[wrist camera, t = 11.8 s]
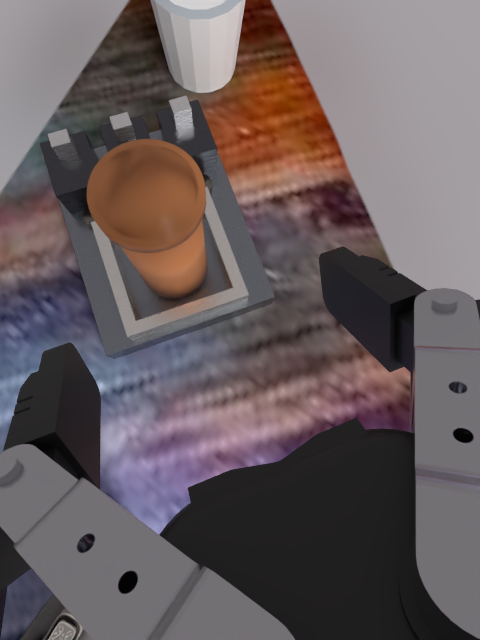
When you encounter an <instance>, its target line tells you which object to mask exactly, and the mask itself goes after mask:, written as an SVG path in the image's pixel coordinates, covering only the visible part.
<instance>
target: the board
mask: <svg viewBox="0 0 480 640" xmlns="http://www.w3.org/2000/svg"><path fill="white" fill-rule="evenodd" d="M169 104H170V108H166V109H162V110H159V111H156V112H157V117H158V121H159V126H160V130H158V131H154V132H151V133H149V132H148V130H147V127H146V124H145V121H144V119H143V116H142V115H141V116H137V117H134V118H129V115H128V112H125V113H122V114H118V115H114V116H111V117H110V120H111V123H112V124H108V125H105V126H101V127H99V128H100V131H101V134H102V137H103V140H104V143H105V146H101V147H98V148H94V149H93V147H92V145H91V143H90V141H89V139H88V137H87V135H86V133H85V131H83V132H80V133H76V134H72V135H70V134H69V133H68V131H67V129H64V130H60V131H56V132H53V133H49V134H48V137H49V140H50V141H47V142H43V143H40V145H41V148H42V152H43V155H44V158H45V162H46V165H47V168H48V171H49V175H50V178H51V181H52V184H53V188H54V191H55V194H56V197H57V198H58V199H59V202H60V205H61V209H62V212H63V215H64V219H65V222H66V225H67V228H68V232H69V235H70V238H71V241H72V245H73V248H74V251H75V254H76V258H77V261H78V264H79V268H80V271H81V274H82V277H83V281H84V284H85V287H86V290H87V294H88V297H89V300H90V303H91V307H92V310H93V313H94V317H95V320H96V323H97V326H98V330H99V333H100V336H101V339H102V343H103V346H104V349H105V352H106V356H109V357H111V358H114V359H115V358H118V357H121V356H124V355H127V354H130V353H132V352H135V351H138V350H141V349H144V348H147V347H150V346H152V345H155V344H158V343H161V342H164V341H167V340H169V339H172V338H175V337H178V336H181V335H184V334H187V333H189V332H192V331H195V330H198V329H201V328H204V327H207V326H209V325H212V324H215V323H218V322H221V321H224V320H227V319H229V318H232V317H235V316H238V315H241V314H244V313H246V312H249V311H252V310H255V309H258V308H261V307H264V306H266V305H269V304H271V303H272V301H273V299H274V298H275V296H274V294H273V291H272V289H271V286H270V284H269V281H268V279H267V276H266V274H265V271H264V268H263V266H262V263H261V261H260V258H259V256H258V253H257V251H256V248H255V246H254V243H253V241H252V238H251V236H250V233H249V231H248V228H247V225H246V223H245V220H244V218H243V215H242V213H241V210H240V208H239V205H238V203H237V200H236V198H235V195H234V193H233V190H232V188H231V185H230V183H229V180H228V177H227V175H226V172H225V170H224V167H223V165H222V162H221V160H220V157H219V155H218V152H217V147H216V144H215V142H214V139H213V137H212V134H211V132H210V129H209V127H208V124H207V122H206V119H205V117H204V114H203V112H202V109H201V106H200V104H199V101H198V100H195V101H191V102H189V101H188V99H187V96H183V97H180V98H176V99H172V100H169ZM140 139H155V140H161V141H165V142H168V143H171V144H173V145H175V146H177V147H179V148H181V149H182V150H184V151H185V152H186V153H187V154H189V155H190V156H191V157H192V158H193V160H194V161H195V162H196V163H197V165H198V167H199V168H200V170H201V173H202V175H203V178H204V183H205V190H206V208H205V213H204V216H203V219H202V222H203V231H204V239H205V248H206V257H207V274H206V277H205V280H204V282H203V283H202V285H201V286H200V287H199V288H198V289H197V290H196V291H195V292H194V293H192V294H190V295H188V296H186V297H183V298H177V299H171V298H165V297H162V296H159V295H157V294H156V293H154V292H153V291H152V290H151V289H149V287H148V286H147V285H146V283H145V282H144V280H143V279H142V278H141V276H140V275H139V273H138V272H137V270H136V269H135V267H134V266H133V264H132V263H131V261H130V260H129V258H128V257H127V255H126V254H125V252H124V251H123V249H122V248H121V247H120V246H119V245H117V244H115V243H114V242H113V241H111V240H110V239H109V238H108V237H107V236H106V235H105V234H104V233H103V231H102V230H101V229H100V227H99V226H98V225H97V223H96V222H95V220H94V219H93V217H92V215H91V213H90V210H89V207H88V203H87V185H88V180H89V178H90V175H91V173H92V171H93V169H94V167H95V166H96V164H97V163H98V161H99V160H100V159H101V158H102V157H103V156H104V155H105V154H107V153H108V152H109V151H110V150H112V149H114V148H115V147H117V146H119V145H121V144H124V143H126V142H129V141H134V140H140Z"/></svg>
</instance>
